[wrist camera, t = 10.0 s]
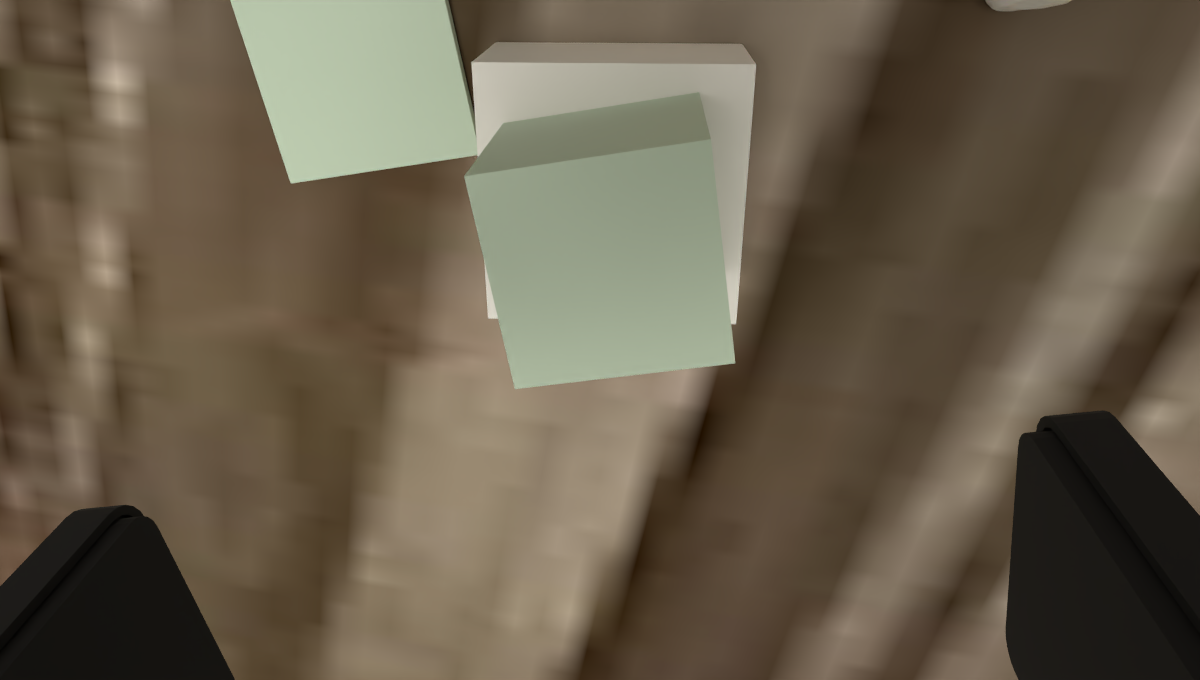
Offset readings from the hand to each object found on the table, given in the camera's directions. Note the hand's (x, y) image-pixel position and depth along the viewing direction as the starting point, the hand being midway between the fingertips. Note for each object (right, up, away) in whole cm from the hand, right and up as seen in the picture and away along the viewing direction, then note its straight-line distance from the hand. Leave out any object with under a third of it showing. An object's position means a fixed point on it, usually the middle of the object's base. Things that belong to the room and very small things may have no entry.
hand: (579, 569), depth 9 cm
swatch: (-7, +11, +16) cm, 20 cm away
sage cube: (+1, +6, +13) cm, 15 cm away
